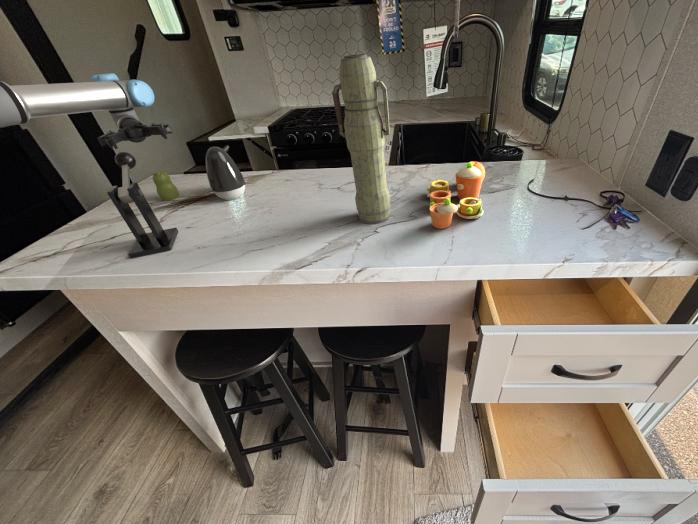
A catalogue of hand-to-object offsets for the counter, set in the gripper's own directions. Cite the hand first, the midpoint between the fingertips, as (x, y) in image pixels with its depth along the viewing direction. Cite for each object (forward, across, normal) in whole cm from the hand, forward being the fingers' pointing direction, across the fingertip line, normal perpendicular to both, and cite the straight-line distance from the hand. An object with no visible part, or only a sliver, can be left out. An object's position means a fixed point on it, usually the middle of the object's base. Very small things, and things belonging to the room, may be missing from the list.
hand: (139, 139), depth 103 cm
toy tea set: (+78, -58, -18) cm, 99 cm away
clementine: (+70, -73, -18) cm, 103 cm away
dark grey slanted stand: (+38, +9, -18) cm, 43 cm away
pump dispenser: (+20, -16, -18) cm, 31 cm away
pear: (+10, 0, -18) cm, 20 cm away
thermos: (+66, -40, -18) cm, 79 cm away
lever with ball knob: (+32, +7, -4) cm, 33 cm away
